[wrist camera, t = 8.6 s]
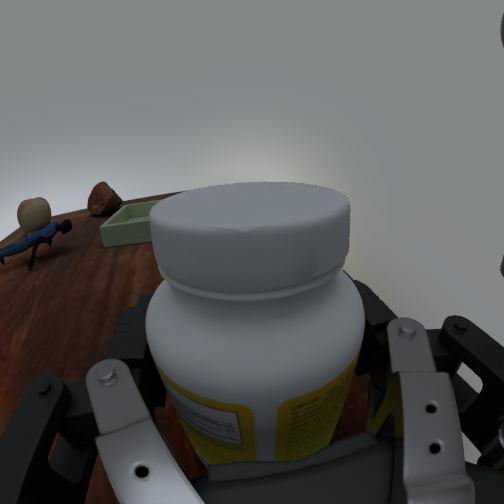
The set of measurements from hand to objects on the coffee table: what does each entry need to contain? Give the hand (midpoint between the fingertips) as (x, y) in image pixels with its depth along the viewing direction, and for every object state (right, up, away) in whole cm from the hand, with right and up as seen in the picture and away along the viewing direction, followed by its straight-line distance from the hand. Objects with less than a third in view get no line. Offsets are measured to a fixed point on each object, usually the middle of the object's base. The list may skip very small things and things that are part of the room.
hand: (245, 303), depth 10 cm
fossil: (-33, +11, +46) cm, 58 cm away
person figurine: (-34, 0, +22) cm, 41 cm away
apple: (-48, +6, +37) cm, 61 cm away
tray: (-15, +6, +32) cm, 36 cm away
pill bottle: (+1, -7, +1) cm, 7 cm away
